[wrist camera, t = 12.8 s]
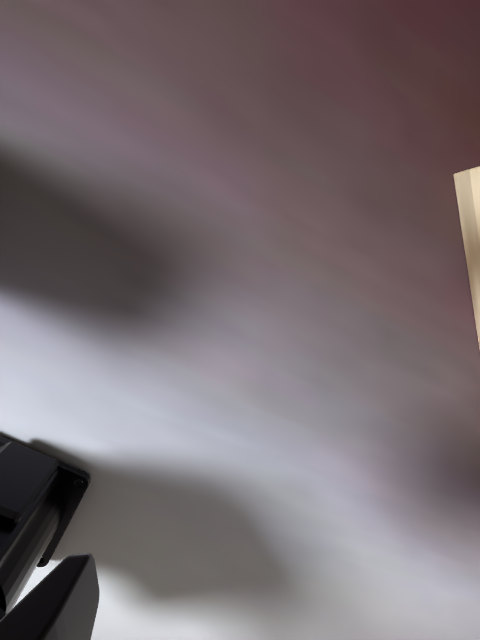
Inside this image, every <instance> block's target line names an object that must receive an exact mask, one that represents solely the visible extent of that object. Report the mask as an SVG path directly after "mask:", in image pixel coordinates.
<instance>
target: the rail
mask: <svg viewBox="0 0 480 640" xmlns="http://www.w3.org/2000/svg"><path fill="white" fill-rule="evenodd" d="M453 175H454V181H455V188H456V195H457V201H458V208H459V215H460V221H461V228H462V235H463V241H464V248H465V255H466V261H467V268H468V275H469V281H470V288H471V295H472V301H473V308H474V315H475V321H476V328H477V335H478V341H479V348H480V166H479V167H475V168H472V169H469V170H465V171H462V172H459V173H455V174H453Z"/></svg>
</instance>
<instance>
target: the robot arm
mask: <svg viewBox="0 0 480 640" xmlns="http://www.w3.org/2000/svg"><path fill="white" fill-rule="evenodd" d="M78 479H79V480H82V481H83V483H79V482H78V481H77V480H78ZM90 480H91V479H90V476H89V474H88V473H86V472H85V471H82V470H80V469H78V468H75V467H73V466H71V465H68V464H66V463H64V462H61V461H59V460H57V459H54V458H52V457H50V456H47V455H45V454H42V453H40V452H38V451H35V450H33V449H31V448H28V447H26V446H24V445H21V444H19V443H17V442H14V441H12V440H10V439H7V438H5V437H3V436H0V640H90V639H91V635H92V630H93V626H94V622H95V617H96V613H97V608H98V603H99V585H98V578H97V572H96V565H95V560H94V557H93V555H92V554H89V553H86V554H72V555H69V556H68V557H66V558H65V559H64V560H63V561H62V562H61V563H60V564H59V565H58V566H56V567H55V568H54V569H53V570H52V571H51V572H50V573H49V574H48V575H47V576H46V577H45V578H44V579H43V580H42V581H41V582H40V583H39V584H38V585H37V586H36V587H35V588H34V589H33V590H31V591H30V592H29V593H28V594H27V595H26V596H25V597H24V598H23V599H22V600H21V601H20V602H19V603H18V604H17V605H16V606H15V607H14V605H15V603H16V601H17V600H18V598H19V596H20V594H21V592H22V591H23V589H24V587H25V585H26V584H27V582H28V580H29V578H30V576H31V575H32V573H33V571H34V569H35V568H36V566H37V567H44V566H46V565H47V564H48V562H49V560H50V558H51V556H52V555H53V553H54V551H55V549H56V547H57V545H58V543H59V541H60V539H61V537H62V535H63V533H64V531H65V530H66V528H67V526H68V524H69V522H70V520H71V518H72V516H73V514H74V512H75V510H76V508H77V506H78V505H79V503H80V501H81V499H82V497H83V495H84V493H85V491H86V489H87V487H88V485H89V483H90ZM42 557H43V558H42ZM13 607H14V608H13ZM12 608H13V609H12Z"/></svg>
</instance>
